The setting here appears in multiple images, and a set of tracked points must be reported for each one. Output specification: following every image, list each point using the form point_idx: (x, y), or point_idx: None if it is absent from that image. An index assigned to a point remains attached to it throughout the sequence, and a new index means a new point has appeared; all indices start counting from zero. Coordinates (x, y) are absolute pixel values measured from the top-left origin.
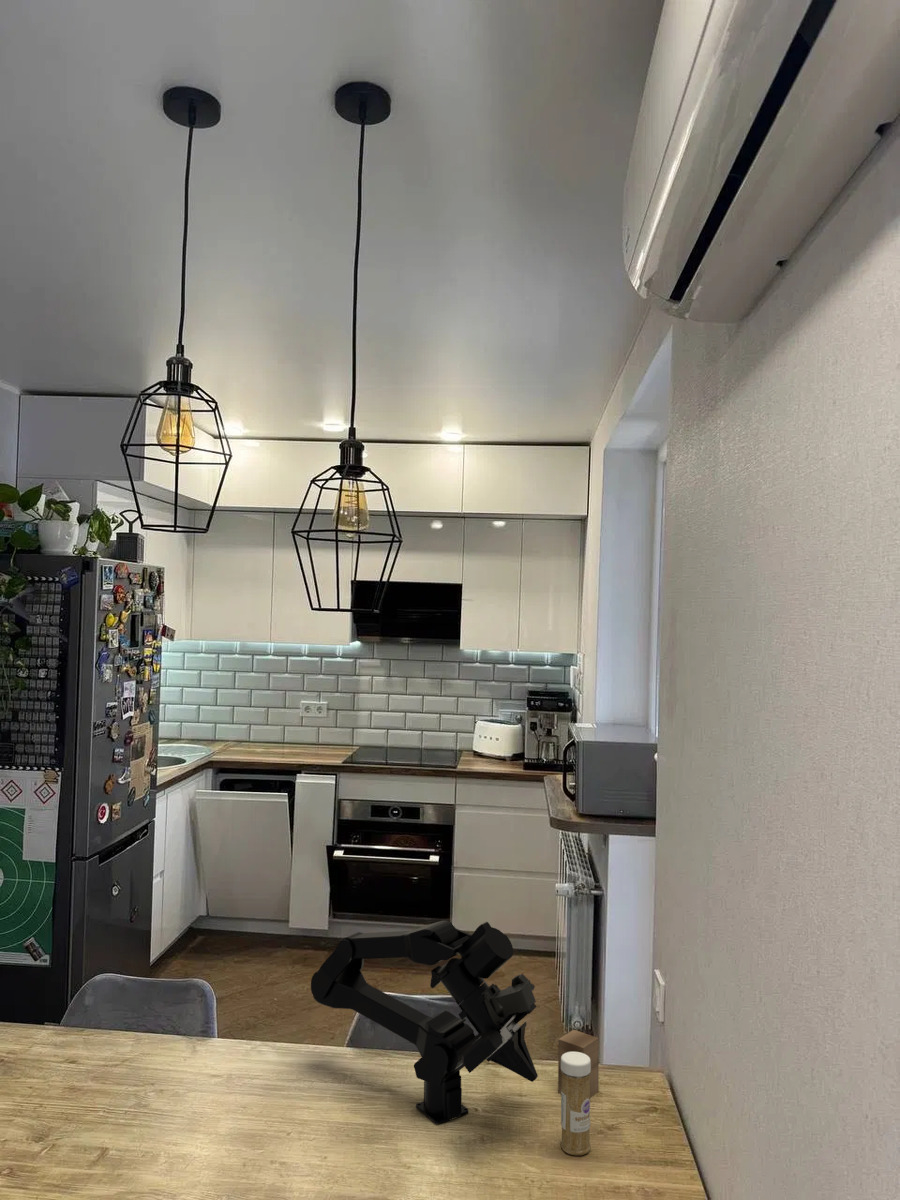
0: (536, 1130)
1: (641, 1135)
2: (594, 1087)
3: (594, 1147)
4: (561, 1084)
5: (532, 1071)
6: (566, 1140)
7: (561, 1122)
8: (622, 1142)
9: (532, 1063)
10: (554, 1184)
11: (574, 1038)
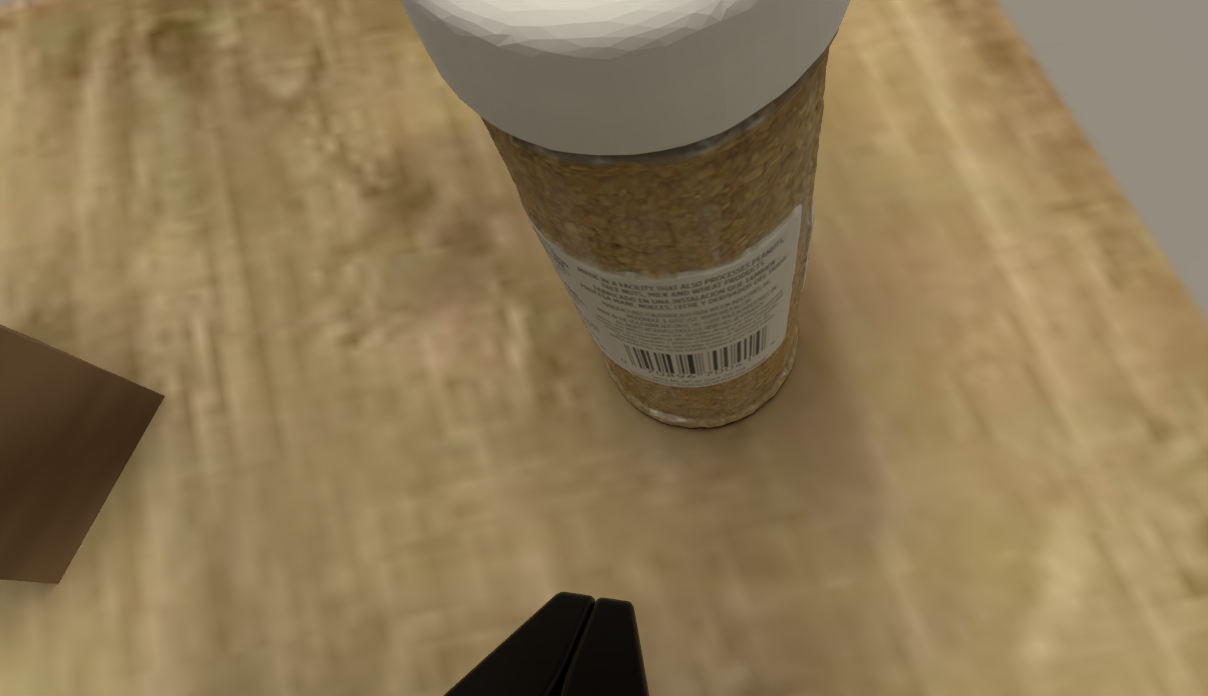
0: None
1: None
2: (22, 334)
3: None
4: (18, 550)
5: (625, 660)
6: (783, 353)
7: (738, 369)
8: None
9: (477, 692)
10: (1169, 380)
11: None
